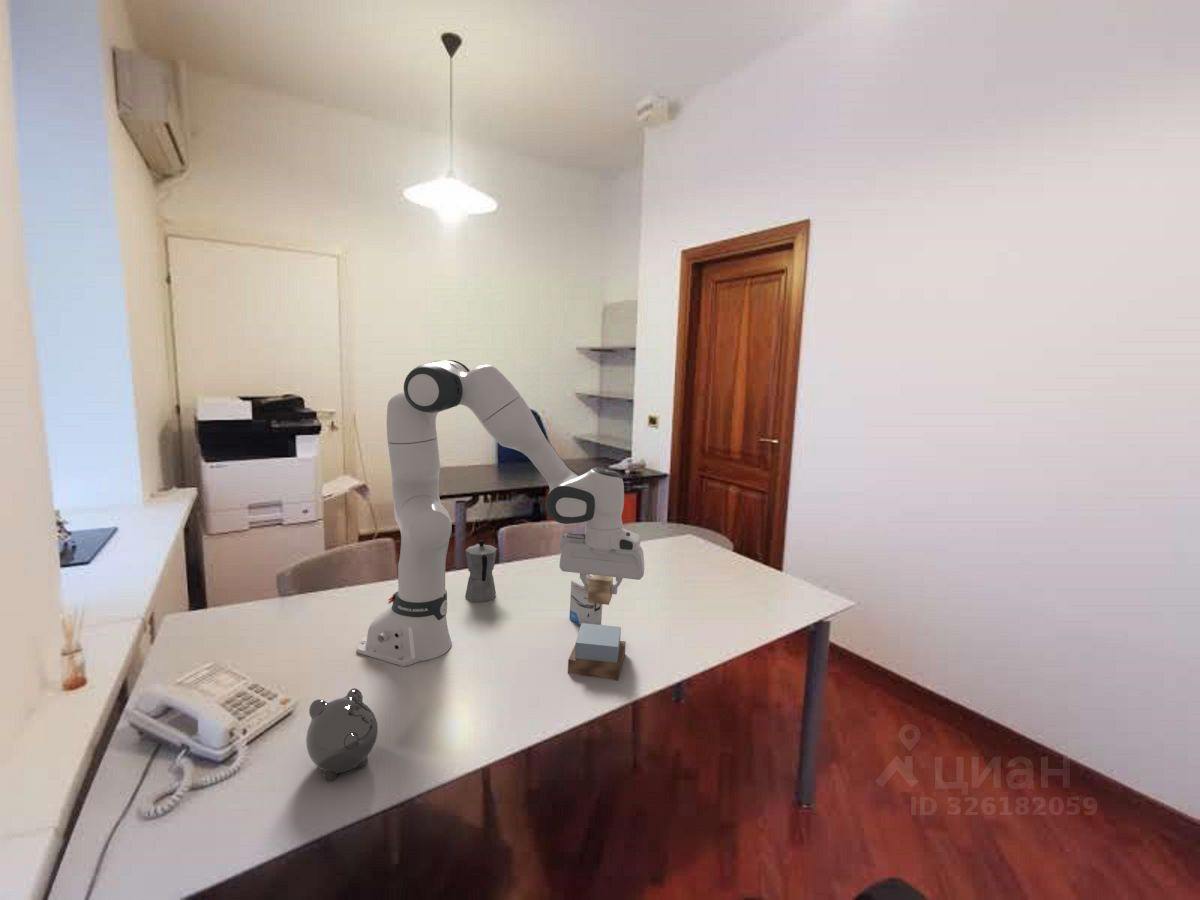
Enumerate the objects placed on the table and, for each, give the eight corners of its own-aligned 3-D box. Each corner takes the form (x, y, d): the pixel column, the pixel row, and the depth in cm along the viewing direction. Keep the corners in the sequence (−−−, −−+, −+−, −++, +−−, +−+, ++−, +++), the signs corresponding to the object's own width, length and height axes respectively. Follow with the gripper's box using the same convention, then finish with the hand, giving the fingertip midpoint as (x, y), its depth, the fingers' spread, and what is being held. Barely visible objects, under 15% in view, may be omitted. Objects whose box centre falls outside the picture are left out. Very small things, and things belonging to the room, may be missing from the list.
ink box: (568, 619, 155) (570, 570, 152) (580, 614, 158) (582, 566, 156) (589, 630, 149) (592, 579, 147) (602, 624, 152) (604, 574, 150)
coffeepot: (463, 588, 172) (463, 534, 169) (493, 586, 175) (494, 532, 172) (467, 610, 157) (468, 550, 154) (500, 606, 160) (501, 548, 158)
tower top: (574, 658, 128) (575, 642, 127) (580, 637, 138) (581, 623, 137) (617, 662, 127) (618, 646, 126) (620, 641, 137) (620, 626, 136)
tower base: (567, 675, 128) (568, 659, 127) (578, 649, 140) (579, 635, 139) (617, 682, 126) (618, 666, 125) (624, 656, 137) (625, 641, 137)
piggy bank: (363, 728, 105) (362, 674, 104) (388, 775, 94) (387, 715, 92) (299, 751, 99) (296, 693, 97) (317, 805, 87) (315, 741, 85)
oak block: (588, 602, 128) (588, 582, 128) (592, 593, 133) (592, 574, 132) (608, 604, 128) (609, 584, 127) (612, 596, 132) (612, 576, 132)
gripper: (557, 536, 127) (555, 592, 129) (644, 544, 123) (641, 602, 125) (563, 528, 133) (561, 581, 135) (646, 536, 129) (643, 591, 132)
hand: (600, 591), depth 130 cm, fingers closed on oak block, 5 cm apart
